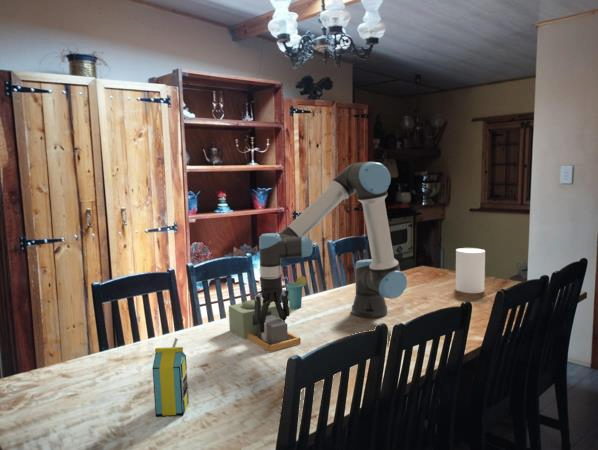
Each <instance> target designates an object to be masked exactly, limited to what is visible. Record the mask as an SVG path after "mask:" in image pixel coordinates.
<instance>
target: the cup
mask: <svg viewBox="0 0 598 450" xmlns="http://www.w3.org/2000/svg"><path fill="white" fill-rule="evenodd" d="M284 280H286V282H287V283H286V288H287V289H286V290H287V291H289V294H288V304H289V310H290V309H291V310H299V309H301V308H302V302H303V301H302V300H303V299H302V298H303V287H305V286H306V285H307V283H308V279H307V277H306V276H303V275H300V276H298V277H297V278H296V281H295V282H290V280H289V277H287V276H285V277H281V282H282V281H284Z"/></svg>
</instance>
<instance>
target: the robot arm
mask: <svg viewBox="0 0 598 450" xmlns="http://www.w3.org/2000/svg"><path fill="white" fill-rule="evenodd" d="M391 180H392V178H391V174H390V171H389V170H388V167H386V166H385V165H384V164H383V163H381V162H375V161H366V162H363V161H362V162H354V163H352V164H350V165H348V166H347V167H345V168H344V169H343V170H342V171H341V172H339V173H338V175H336V177H334V178H333V179H332V180H331V181H330V186H328V187H327V189H325V190H324V192H323V193H321V194H320V195H319V196H318V197H317V198H316V199H314V201H313V202H312V203H311V204H309V206H307V208H305V210H303V211H302V212H301V213H300V214H299V215H298V216H297V217H296V218H295V219H294V220H293V221H292V222H291V223H290V224H289V225H288V226H286V228H284V229H283V230H282V231H278V232H276V233H275V232H271V233H270V232H269V233H267V232H266V233H262V234H261V235H260V236H259V240H258V242H259V243H258V252H259V272H260V273H259V275H260V280H259V281H260V289H261V290H260V293H259V294H257V295H256V294H254V295H253V300H254V301H255V310H254V321H255V322H256V323H258V324H259V328H260V332H261V333H262V338H261V340H263V341H264V342H266V343H268V342H267V324H266V323H265V320H266V316H267V312H268V308H269V306H270V303H271V302H273V303H275V305H276V308H277V311H278V314H279V317H280V318H278V319H280V320H282V321H283V322H285V323H286V320H287V318H288V317H290V315H291V314H290V307H289V299H288V294H289V291H287V289H284V288H282V281H281V279H282V277H281V276H282V267H281V266H282V261H281V260H287V259H298V258H300V259H301V258H302V259H303V258H306V257H307V258H308V257H310V256H312V253H313V251H314V250H313V248H314V247H313V246H314V245H313V241H312V239H311V238H310V237H309V236H306V235H308V234H309V233H310V232H311V231H312V230H313V229H314V228H315V227H316V226H317V225H318V224H319V223H320V222H321V221H323V219H324V218H326V217H327V216H328V214H330V213H331V212H332V211H333V210H334V209H335V208H337V206H338V205H339V204H340V203H341V202H342V201H344V200H347V199H349V198H350V197H351V196H352V195H354V194H355V193H356V197H357V201H358V202H360V203H361V204H362V210H363V217H364V221H365V226H366V227H365V228H366V233H367V239H368V244H369V251H370V255H371V259H370V258H369V259H360V260H357V261H356V262H355V268H354V271H355V275H354V276H355V296H354V299H353V303H352V305H351V314H352V315H355V316H357V317H361V318H368V319H369V318H370V319H371V318H373V319H374V318H381V317H384V316H386V315H388V306H387V304H386V300H385V299H389V300H393V299H397V298H399V297H401V296H402V295H403V294H404V291H405V290H406V289H407V286H408V279H407V276H406V274H405V273H404V272H403V271H401V268H400V263H399V260H397V259H396V258H395V256H394V250H393V244H392V239H391V238H392V237H391V232H390V231H391V230H390V225H389V220H388V219H389V218H388V215H387V214H388V212H387V208H386V201H385V199H386V198H387V197H388V196H389V195H388V189H389V186H390V185H391ZM262 299H263V302H262V303H263V305H262V309H261V300H262Z"/></svg>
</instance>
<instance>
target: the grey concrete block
mask: <svg viewBox="0 0 598 450" xmlns="http://www.w3.org/2000/svg"><path fill="white" fill-rule="evenodd" d="M265 323H266V324H267V342H266V343H268V344H269V345H272V344H276V343H280V342H283V341H287V340H289V339H288V334H287V331H288V323H286V321H285V322H283V321H282V320H280V319H278V318H277V317H275V316H274V315H269V316H266V320H265ZM258 332H259V336H258V337H259V338H260V339H262V333H261V332H260V328H259V324H258Z"/></svg>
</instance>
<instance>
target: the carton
mask: <svg viewBox="0 0 598 450" xmlns="http://www.w3.org/2000/svg"><path fill="white" fill-rule="evenodd" d="M178 340H179V339H178V338H176V337H175V338H174V341H173V344H172V347H171V346H170V347H156V348H155V349H154V350H155V351H154V353H155V354H154V358H153V363H152V369H151V370H152V381H153V397H154V412H155V418H167V417H166V416H169V417H184V415H185V413H186V410H187V408H186V407H188V405H189V386H188V385H189V384H188V367H187V355H186V354H185V352H184V347H183V346H176V345H177V343H178ZM169 417H168V418H169Z"/></svg>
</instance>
